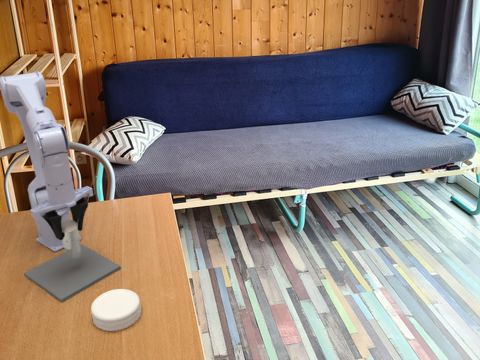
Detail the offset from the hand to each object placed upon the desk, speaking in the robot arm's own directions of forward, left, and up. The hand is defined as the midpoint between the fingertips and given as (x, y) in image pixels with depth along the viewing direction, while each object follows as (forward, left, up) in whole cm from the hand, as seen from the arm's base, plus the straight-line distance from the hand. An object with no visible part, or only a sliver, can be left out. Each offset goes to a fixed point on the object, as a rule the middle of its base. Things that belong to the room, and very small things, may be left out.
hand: (69, 233), depth 117 cm
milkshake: (0, 0, -6) cm, 6 cm away
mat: (0, -1, -10) cm, 10 cm away
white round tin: (+21, -4, -11) cm, 24 cm away
